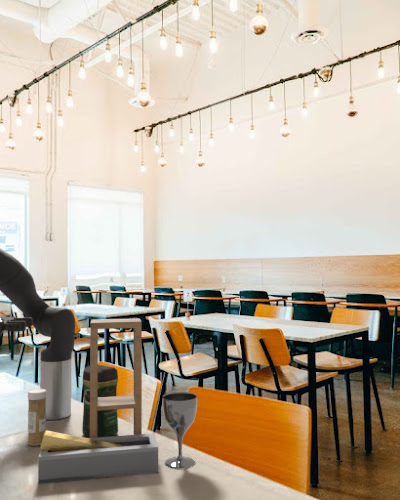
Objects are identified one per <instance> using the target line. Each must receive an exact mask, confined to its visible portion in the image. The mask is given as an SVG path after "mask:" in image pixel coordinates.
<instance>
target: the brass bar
mask: <svg viewBox="0 0 400 500" xmlns="http://www.w3.org/2000/svg"><path fill="white" fill-rule="evenodd" d="M89 438H90V437H82V436H79V435H78V436H77V435H72V434H67V433H62V432H57V431H51V430H48V429H47V430H46V432H45V434H44V436H43V440H42V444H41V445H40V448H39V449H40V450H41V449H43V450H48V451H53V452H62V451H74V450H86V449H99V448H111V447H123V446H125V445H120V444H115V443H109V442H104V441H99V440H94V439H89Z"/></svg>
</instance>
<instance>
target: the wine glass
mask: <svg viewBox="0 0 400 500" xmlns="http://www.w3.org/2000/svg"><path fill="white" fill-rule="evenodd" d="M197 409H198V395H197V394H196V393H193V392H188V391H174V392H168V393H166V394H163V395H162V411H163V416H164V420H165V422H166V424H167V425H168V426H169V428H170V429H171V430H172V431H173V432H174V434H175V436H176V438H177V447H178V455H176V456H177V457H176V456H172V458H171V457H169V458H167V459H166V460H165V461H164V465H165V466H166V467H167V466H168V467H167V468H169V467H170V468H169V469H173V468H176V469H175V470H178V469H177V468H186V469H189V467H190V468H192V467H194V466H195V465H194V463H195V461H196V460H195V459H194V458H193V457H191V456H187V455H183V441H184V436H185V434H186V433H187V431H188V430H189V428H190V427H191V426H192V425H193V423H194V421H195V419H196V415H197ZM186 456H187V457H186ZM190 457H191V458H190ZM192 458H193V459H194V460H195V461H194V460H193V459H192ZM195 464H196V463H195ZM193 465H194V466H193ZM191 466H192V467H191Z"/></svg>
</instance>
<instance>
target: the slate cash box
mask: <svg viewBox="0 0 400 500" xmlns="http://www.w3.org/2000/svg"><path fill="white" fill-rule="evenodd" d="M88 438H89V439H94V440H99V441H104V442H109V443H115V444H120V445H125V446H123V447H111V448H99V449H86V450H74V451H62V452H53V451H48V450H43V449H40V452H39V453H38V454H39V455H38V456H37V457H38V460H37V461H38V463H37V464H38V465H37V469H38V470H37V473H38V474H37V476H38V477H37V484H38V485H43V484H51V483H52V484H53V483H62V482H72V481H82V480H83V481H84V480H93V479H103V478H104V479H105V478H115V477H116V478H117V477H126V476H137V475H147V474H148V475H149V474H156V473H159V445H158V442H157V437H156V433H155V432H154V433H142V434H138V435H134V434H128V435H116V436H115V435H114V436H111V437H98V438H90V437H88Z"/></svg>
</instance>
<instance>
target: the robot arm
mask: <svg viewBox="0 0 400 500" xmlns="http://www.w3.org/2000/svg"><path fill="white" fill-rule="evenodd" d="M0 292H1V293H2V294H3V296H6V298H7V299H9V300H10V302H11V303H12V304H13V305H14V306H15V307H16V308H18V310H20V311H21V312H22V314H23V315H24V316H25V317H16V316H14V315H11V316H6V315H0V334H5V333H10V332H25V331H26V328H30V327H33V328H34V329H35V330H36V331H37V332H38V333H39V334H40V335H42V336H44V337H46V338H47V337H49V338H50V340H49V346H48V347H47V348H44V349H43V350H41V352H40V356H39V357H40V363H39V364H40V369H39V370H40V375H39V377H40V378H39V379H40V380H39V381H40V382H39V384H40V385H39V389H45V390H46V391H47V396H46V421H47V420H48V421H49V420H50V421H52V420H61V419H64V418H67V417H70V416H71V414H72V355H73V354H72V353H73V351H74V349H75V348H74V347H75V339H76V338H75V336H76V335H75V334H76V318H75V315H74V313H73V311H72V310H71V309H70V308H66V307H53V306H50V305H49V304H48V303H47V302H46V301H44V299H43V298H41V296H40V295H39V294H38V292H37V288H36V284H35V280H34V277H33V276H32V274H31V273H30V271H28V269H27V268H26V267H25V266H24V265H23V264H22V263H21V262H20V260H18V259H17V258H16V257H14V256H13V255H12V254H10V253H9V252H7V251H5V250H4V249H3V248H1V247H0Z"/></svg>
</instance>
